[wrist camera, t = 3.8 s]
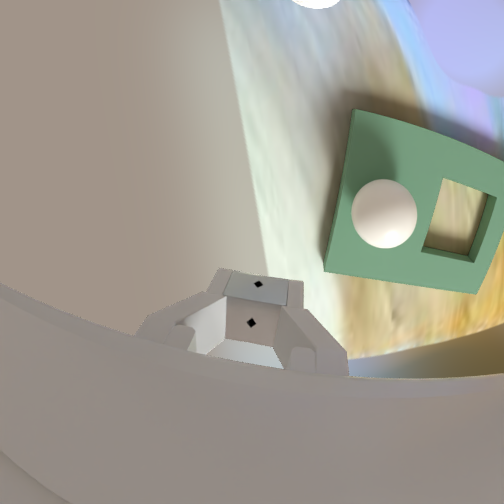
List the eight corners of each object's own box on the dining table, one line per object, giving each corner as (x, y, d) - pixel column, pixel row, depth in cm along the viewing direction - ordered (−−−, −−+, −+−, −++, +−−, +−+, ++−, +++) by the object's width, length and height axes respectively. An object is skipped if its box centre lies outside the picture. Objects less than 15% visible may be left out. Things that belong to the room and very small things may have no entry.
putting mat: (356, 74, 18) (424, 32, 6) (516, 139, 16) (613, 179, 4) (323, 263, 26) (331, 383, 14) (470, 286, 24) (524, 376, 12)
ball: (353, 166, 20) (367, 181, 16) (410, 180, 19) (436, 199, 15) (341, 225, 22) (349, 254, 18) (395, 236, 22) (414, 265, 18)
